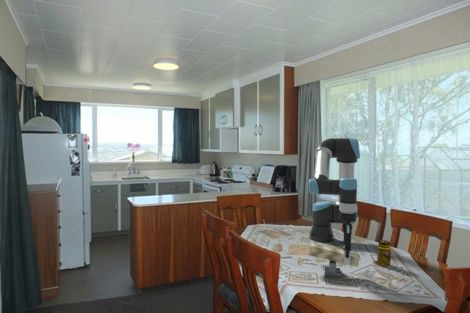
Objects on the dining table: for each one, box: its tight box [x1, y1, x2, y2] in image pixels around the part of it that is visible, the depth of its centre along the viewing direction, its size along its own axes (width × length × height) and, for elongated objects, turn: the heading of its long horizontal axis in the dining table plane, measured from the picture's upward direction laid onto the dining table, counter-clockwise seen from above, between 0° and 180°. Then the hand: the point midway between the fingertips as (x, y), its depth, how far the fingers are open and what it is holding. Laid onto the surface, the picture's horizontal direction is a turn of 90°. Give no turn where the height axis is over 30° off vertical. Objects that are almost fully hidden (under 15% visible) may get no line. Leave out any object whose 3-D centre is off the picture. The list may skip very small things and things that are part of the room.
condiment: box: [371, 239, 393, 269], centre depth 161 cm, size 7×8×12 cm
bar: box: [308, 242, 361, 268], centre depth 150 cm, size 22×4×4 cm, turn 74°
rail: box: [324, 260, 342, 279], centre depth 150 cm, size 10×7×6 cm
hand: (346, 262), depth 148 cm, fingers closed on bar, 5 cm apart
